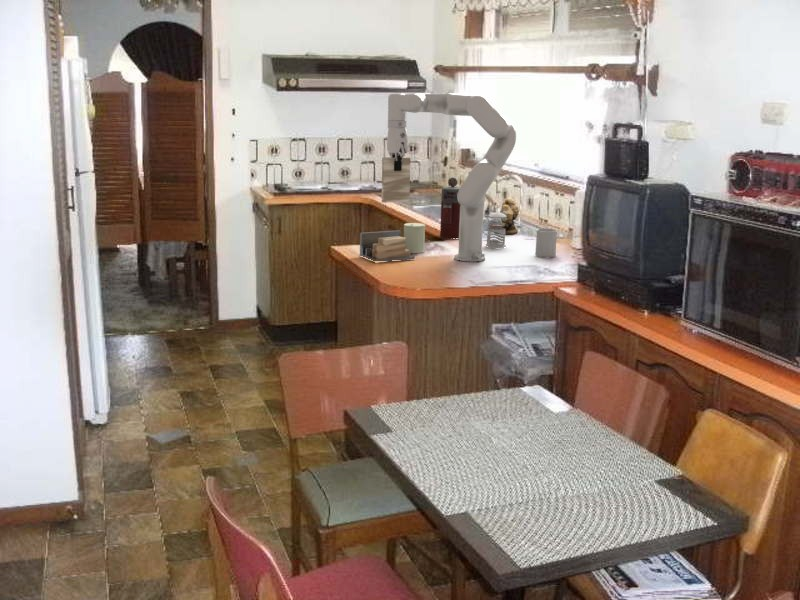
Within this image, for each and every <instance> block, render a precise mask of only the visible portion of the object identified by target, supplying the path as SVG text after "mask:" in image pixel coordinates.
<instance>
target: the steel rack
mask: <svg viewBox="0 0 800 600" xmlns="http://www.w3.org/2000/svg"><path fill="white" fill-rule="evenodd" d="M401 235H402V231H401V230H400V229H399V230H397V229H396V230H384V231H383V230H382V231H370V232H366V231H365V232H359V257H360V256H363V257H366V258H368V259H371V260H373V261H392V260H407V259H415V257H416V256H415V255H413V254H412V255H411V254H410V256H408V257H396V258H383V259H378V258H375V257H373V256H372V250H373V244H378V241H379V238H385V237H394V236H400V237H402V236H401ZM405 249H406V246H405ZM415 260H416V259H415Z"/></svg>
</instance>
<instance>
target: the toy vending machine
mask: <svg viewBox="0 0 800 600" xmlns="http://www.w3.org/2000/svg"><path fill="white" fill-rule="evenodd" d="M458 184H459V180H458V178H457V177H455V176H452V177H450V178H449V179H448V185H446V186H444V187H443V188H441V202H440V203H441V204H440V225H439V226H440V228H439V229H440V230H439V239H448V240H457V239H456V238H459V223H460V208H461V205H460V204H459V202H458V199H457V194H458V191H459V189H460V188H461V186H457V185H458ZM451 238H452V239H451ZM453 238H455V239H453Z"/></svg>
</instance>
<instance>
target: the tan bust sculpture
mask: <svg viewBox="0 0 800 600" xmlns="http://www.w3.org/2000/svg"><path fill="white" fill-rule="evenodd" d="M501 205H502V206H501V207H500V211H499V213H503V214H505V215H506V218H500V221H501V224H504V225H505V226H504V227H502V228H505V236H514V235H517V234H518V232H519V231H518V229H517V228H516V225H515V220H516V219H517V218H518V216H519V206H518V205H517V202H516V200H515V199H514V198H512V197H506V198H505V200H504V201H503V202H502V204H501ZM493 230H495V229H493ZM493 233H495V232H493ZM495 234H497V233H495Z"/></svg>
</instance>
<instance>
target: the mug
mask: <svg viewBox="0 0 800 600" xmlns="http://www.w3.org/2000/svg"><path fill="white" fill-rule="evenodd" d="M557 236H558V230H556V229H553V228H538V229H536V236H535V237H536V238H535V239H536V240H535V253H534V255H535V257H539V258H546V257H550V258H555V257H556V253H557V241H558V240H557Z"/></svg>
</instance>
